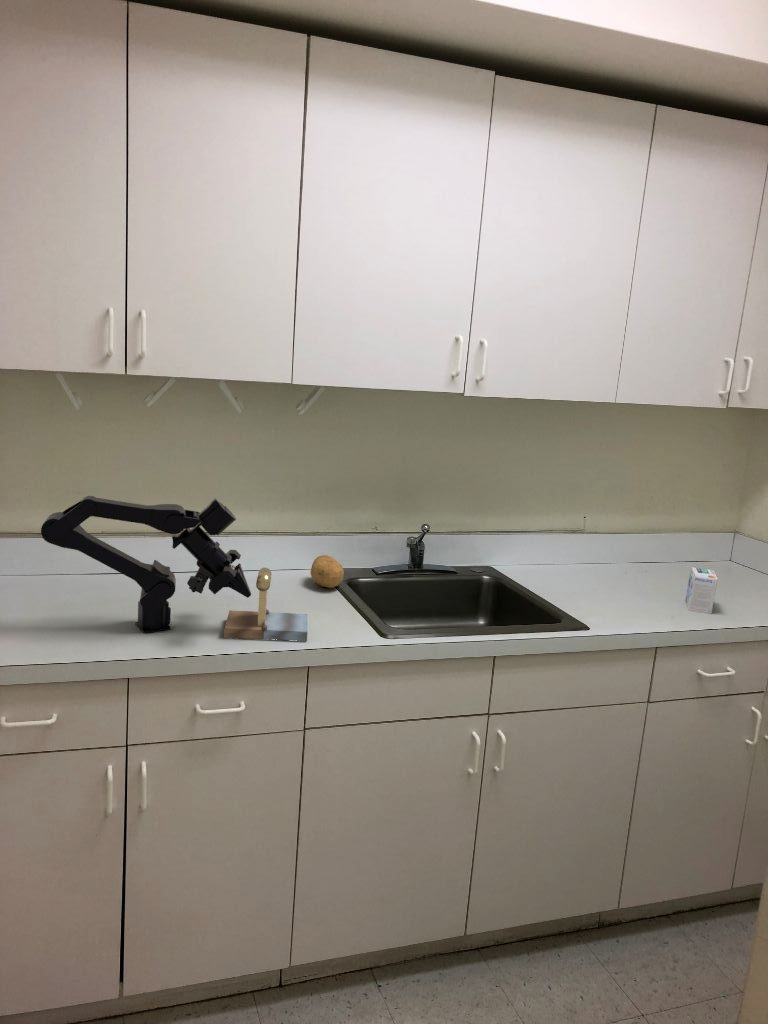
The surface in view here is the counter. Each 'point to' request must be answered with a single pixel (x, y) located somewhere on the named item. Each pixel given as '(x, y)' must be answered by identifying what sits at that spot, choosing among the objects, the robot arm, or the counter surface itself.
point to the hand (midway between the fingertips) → (249, 596)
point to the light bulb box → (701, 590)
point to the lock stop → (263, 593)
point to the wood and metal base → (266, 626)
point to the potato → (327, 571)
